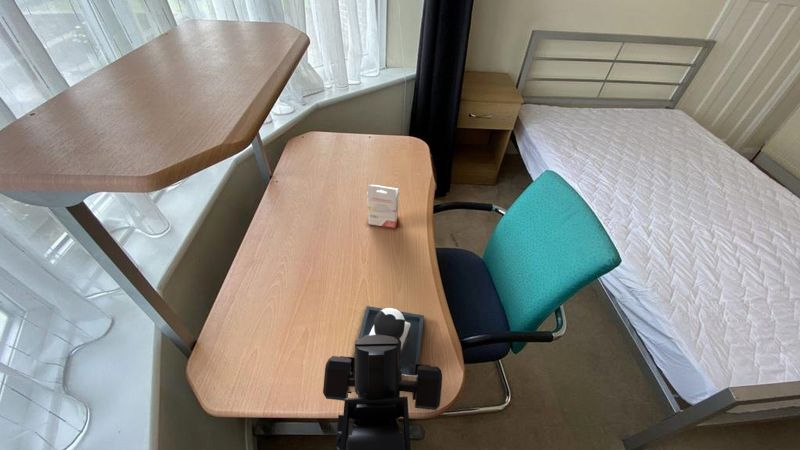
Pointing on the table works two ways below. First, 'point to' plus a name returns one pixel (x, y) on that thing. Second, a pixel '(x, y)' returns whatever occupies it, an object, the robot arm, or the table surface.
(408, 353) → the tray
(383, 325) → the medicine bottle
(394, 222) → the ink cartridge box
